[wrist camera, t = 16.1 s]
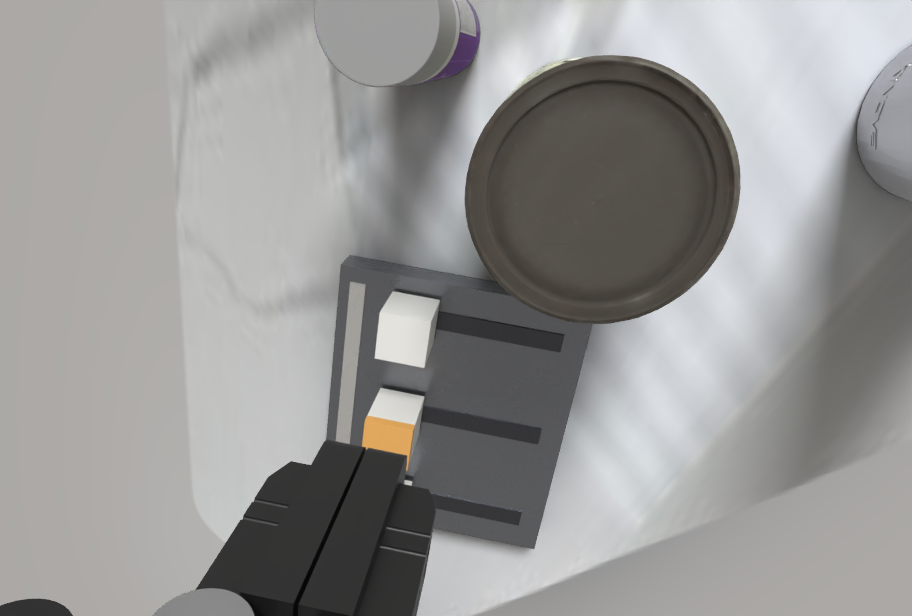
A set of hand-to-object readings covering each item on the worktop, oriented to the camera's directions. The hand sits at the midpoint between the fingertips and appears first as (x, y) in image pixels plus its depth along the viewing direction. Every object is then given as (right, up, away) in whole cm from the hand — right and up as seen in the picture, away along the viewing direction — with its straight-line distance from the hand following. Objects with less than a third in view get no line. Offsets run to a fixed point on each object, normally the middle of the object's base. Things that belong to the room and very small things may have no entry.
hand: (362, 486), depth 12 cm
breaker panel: (+1, -3, +33) cm, 33 cm away
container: (+1, +19, +24) cm, 31 cm away
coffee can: (+9, +13, +25) cm, 30 cm away
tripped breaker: (-2, -4, +31) cm, 31 cm away
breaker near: (-1, +3, +28) cm, 28 cm away
